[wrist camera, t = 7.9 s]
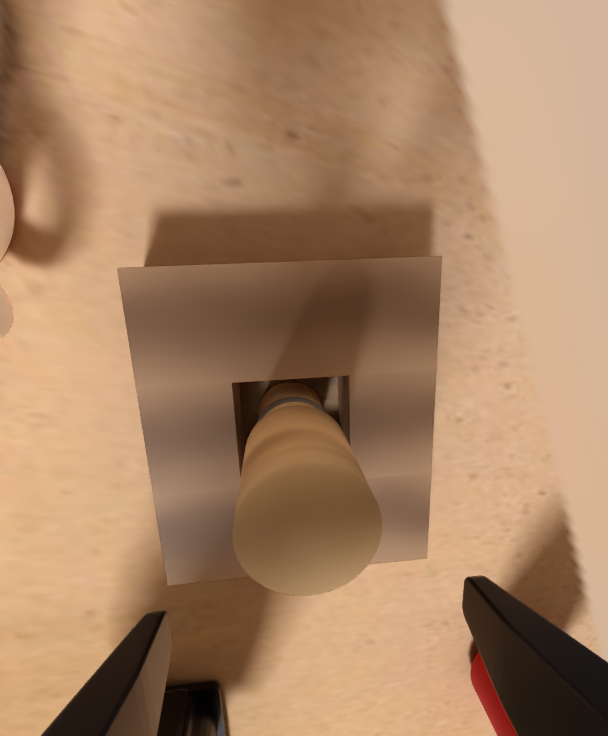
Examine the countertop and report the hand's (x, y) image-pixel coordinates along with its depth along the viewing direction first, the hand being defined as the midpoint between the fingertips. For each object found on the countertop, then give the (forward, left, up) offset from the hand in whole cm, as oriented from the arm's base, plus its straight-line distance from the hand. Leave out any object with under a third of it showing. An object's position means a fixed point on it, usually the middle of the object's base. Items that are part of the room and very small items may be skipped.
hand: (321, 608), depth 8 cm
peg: (0, 0, -12) cm, 13 cm away
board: (0, 0, -12) cm, 12 cm away
